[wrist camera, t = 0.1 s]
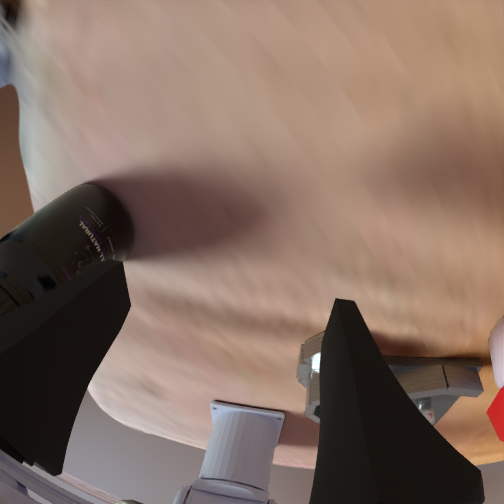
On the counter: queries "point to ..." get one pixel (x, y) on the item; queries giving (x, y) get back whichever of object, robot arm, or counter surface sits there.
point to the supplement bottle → (62, 244)
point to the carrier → (436, 381)
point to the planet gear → (311, 375)
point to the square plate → (128, 502)
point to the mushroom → (497, 377)
